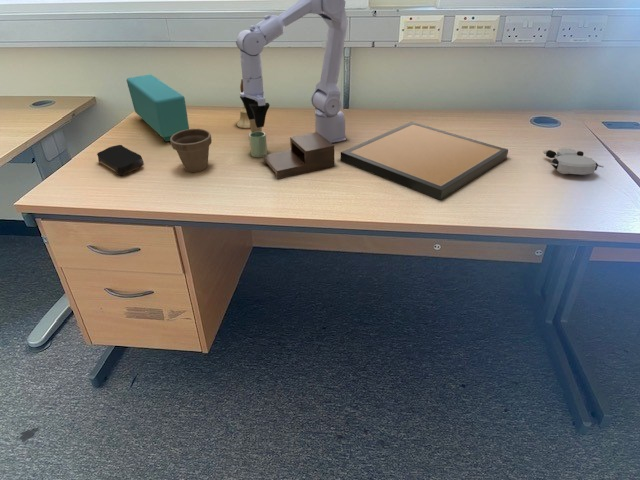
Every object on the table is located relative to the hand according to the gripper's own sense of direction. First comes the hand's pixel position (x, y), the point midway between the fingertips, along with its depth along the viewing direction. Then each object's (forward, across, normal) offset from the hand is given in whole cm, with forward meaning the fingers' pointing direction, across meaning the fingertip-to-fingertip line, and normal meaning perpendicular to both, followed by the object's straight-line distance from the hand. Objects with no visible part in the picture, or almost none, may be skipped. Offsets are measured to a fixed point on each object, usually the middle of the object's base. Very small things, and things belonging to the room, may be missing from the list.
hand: (256, 122), depth 138 cm
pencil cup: (+10, 0, 0) cm, 10 cm away
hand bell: (+10, -27, +5) cm, 29 cm away
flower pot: (+11, +1, -20) cm, 23 cm away
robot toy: (+9, +51, +76) cm, 92 cm away
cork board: (+10, +27, +43) cm, 52 cm away
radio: (+11, -37, -23) cm, 45 cm away
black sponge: (+11, -11, -40) cm, 43 cm away
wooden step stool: (+10, +13, +8) cm, 18 cm away
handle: (+10, -14, +4) cm, 18 cm away
